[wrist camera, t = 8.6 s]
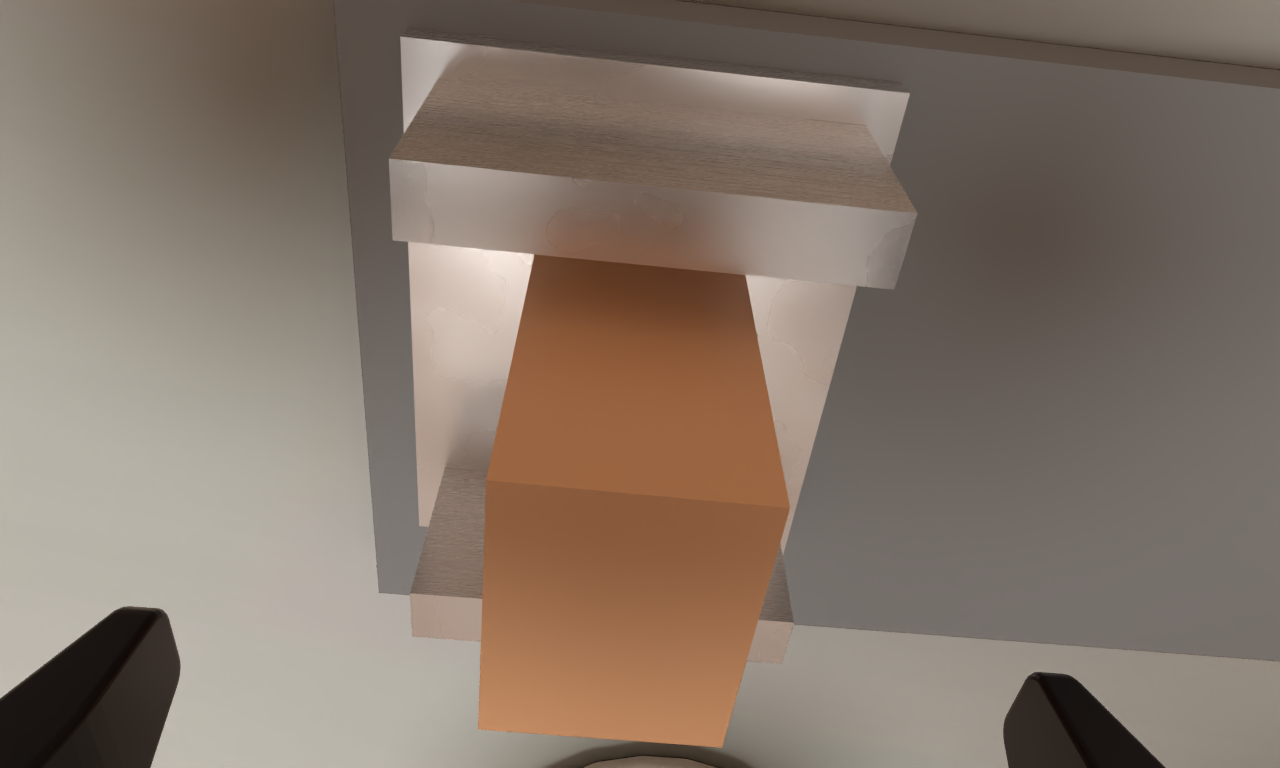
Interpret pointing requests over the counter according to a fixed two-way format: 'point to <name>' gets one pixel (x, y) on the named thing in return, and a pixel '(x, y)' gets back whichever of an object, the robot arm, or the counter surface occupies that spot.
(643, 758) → the supplement can
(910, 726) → the counter surface
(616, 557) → the orange rectangular block
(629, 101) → the end holder
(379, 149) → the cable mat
